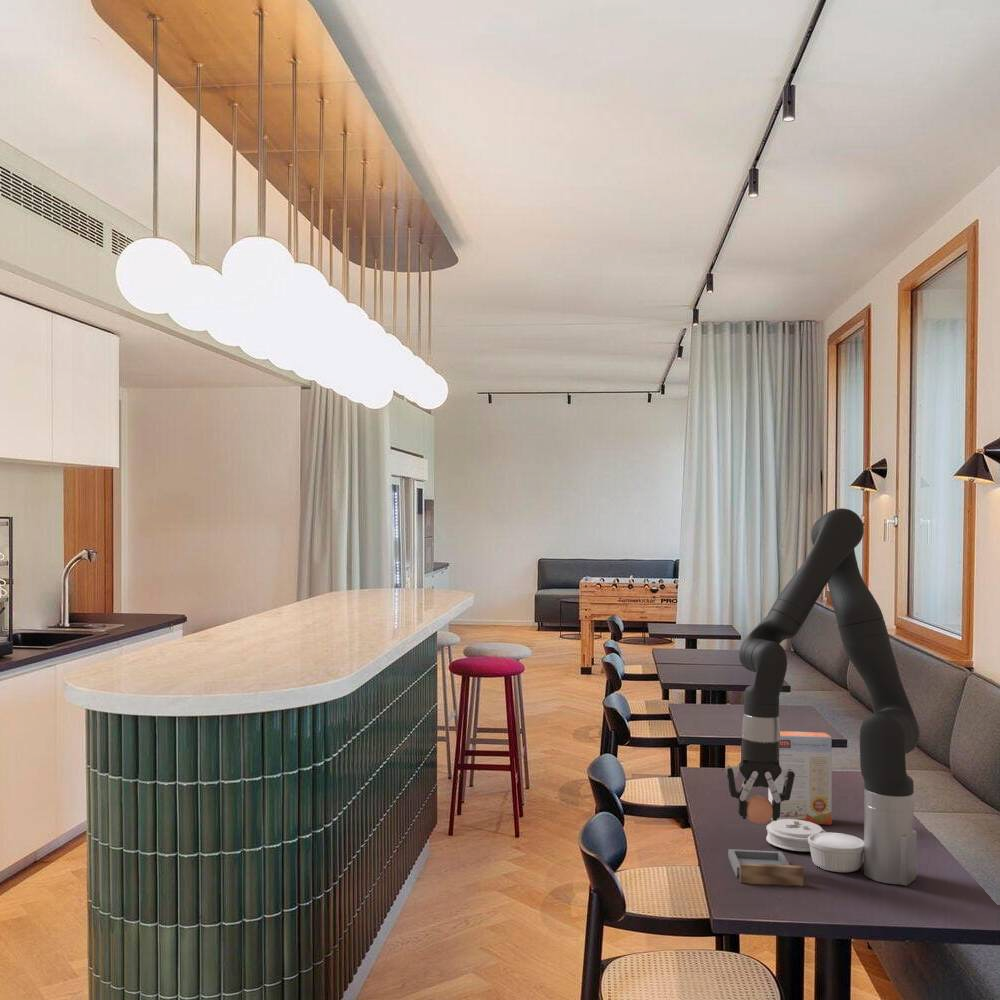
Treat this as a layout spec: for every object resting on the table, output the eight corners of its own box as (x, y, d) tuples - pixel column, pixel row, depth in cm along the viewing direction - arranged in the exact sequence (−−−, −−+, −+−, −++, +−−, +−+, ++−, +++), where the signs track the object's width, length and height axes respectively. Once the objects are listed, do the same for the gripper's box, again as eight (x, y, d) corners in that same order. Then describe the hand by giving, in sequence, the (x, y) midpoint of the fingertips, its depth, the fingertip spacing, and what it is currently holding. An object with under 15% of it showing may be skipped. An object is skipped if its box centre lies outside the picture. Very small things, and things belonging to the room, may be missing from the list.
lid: (755, 845, 212) (755, 822, 212) (783, 833, 221) (783, 811, 221) (809, 860, 203) (809, 836, 203) (836, 846, 212) (836, 824, 212)
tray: (781, 861, 201) (781, 851, 201) (793, 880, 190) (793, 869, 190) (728, 858, 202) (728, 849, 202) (736, 877, 191) (736, 867, 191)
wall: (801, 883, 188) (801, 865, 188) (803, 886, 187) (803, 867, 187) (739, 880, 189) (739, 862, 189) (740, 883, 188) (740, 865, 188)
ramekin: (804, 855, 205) (804, 830, 205) (859, 858, 203) (859, 833, 204) (812, 873, 194) (812, 846, 194) (870, 876, 192) (870, 850, 192)
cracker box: (826, 818, 232) (826, 731, 233) (832, 826, 226) (833, 736, 227) (767, 815, 234) (767, 729, 234) (771, 823, 228) (772, 734, 228)
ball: (777, 823, 197) (778, 796, 198) (764, 829, 193) (765, 802, 193) (752, 817, 201) (753, 790, 201) (739, 823, 197) (740, 795, 197)
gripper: (793, 734, 200) (791, 815, 200) (723, 730, 202) (721, 811, 202) (800, 742, 193) (798, 827, 193) (727, 738, 195) (725, 822, 194)
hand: (758, 818), depth 197 cm, fingers closed on ball, 5 cm apart
